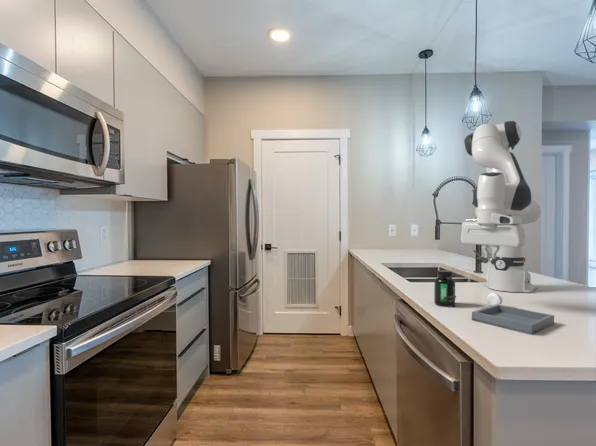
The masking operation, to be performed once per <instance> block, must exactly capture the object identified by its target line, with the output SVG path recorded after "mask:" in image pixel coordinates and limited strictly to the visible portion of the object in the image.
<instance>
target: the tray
mask: <svg viewBox="0 0 596 446" xmlns="http://www.w3.org/2000/svg"><path fill="white" fill-rule="evenodd" d="M471 321H474V322H477V323H482V324H487V325H491V326H495V327H499V328H503V329H507V330H511V331H516V332H518V333H519V332H520V333H525V334H527V335H534V334H536V333H537V332H540V331H543V330H544V329H547V328H548V327H551V326H553V325H554V324H555V315H554V314H549V313H544V312H538V311H533V310H528V309H524V308H519V307H518V308H517V307H512V306H508V305H503V304H500V305H498V304H496V305H493V306H490V305H489V306H488V307H483V308H480V309H476V310H474V311H471Z"/></svg>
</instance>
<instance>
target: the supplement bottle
mask: <svg viewBox="0 0 596 446" xmlns="http://www.w3.org/2000/svg"><path fill="white" fill-rule="evenodd" d="M436 276H437V277H435V279H434V292H433V293H434V294H433V295H434V297H433V298H434V299H433V301H434V304H435V305H437V306H440V307H443V306H452V305H455V306H456V300H455V301H454V302H448V301H447V300H446V298H444V297H448V296H456V280H455V279H454V278H452V279H451V280H449V279H446V277H453V271H452V270H445V269H438V270H437V274H436Z"/></svg>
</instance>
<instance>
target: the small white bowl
mask: <svg viewBox="0 0 596 446" xmlns="http://www.w3.org/2000/svg"><path fill="white" fill-rule="evenodd" d="M486 297H487V303H488V304H489V307H490V306H493V305H496V304H498V305H502V304H503V301H504V300H503V297H502V296H501V295H500V294H497V293H495V292H490V293H488V295H487V296H486Z"/></svg>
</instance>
